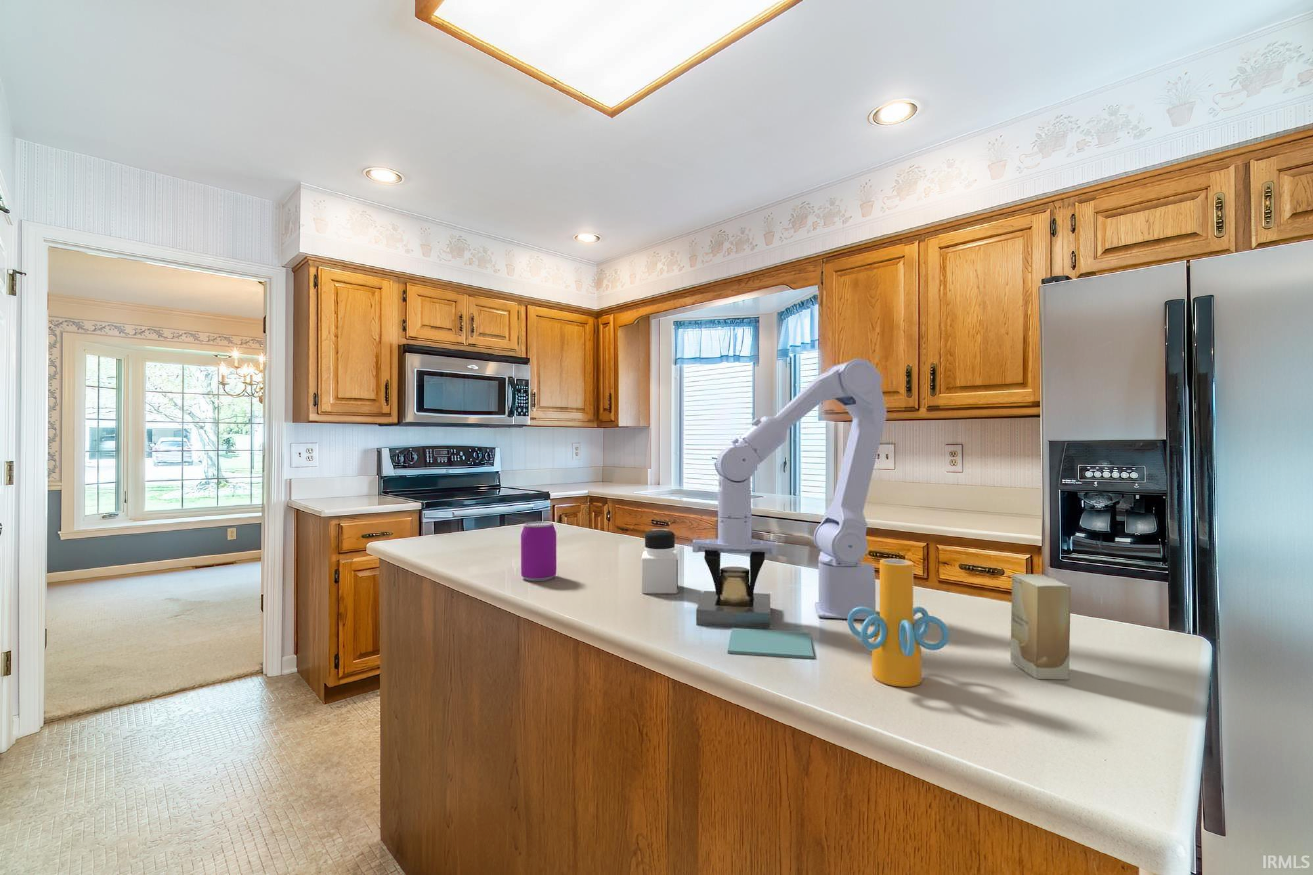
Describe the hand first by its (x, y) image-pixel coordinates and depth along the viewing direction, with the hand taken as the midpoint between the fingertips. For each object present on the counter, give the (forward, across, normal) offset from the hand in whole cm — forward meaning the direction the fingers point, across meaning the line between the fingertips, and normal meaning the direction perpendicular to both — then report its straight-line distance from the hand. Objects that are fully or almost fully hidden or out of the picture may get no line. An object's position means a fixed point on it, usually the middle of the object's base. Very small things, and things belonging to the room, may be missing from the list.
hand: (734, 594), depth 104 cm
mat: (+4, -6, +13) cm, 15 cm away
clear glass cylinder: (+4, 0, 0) cm, 4 cm away
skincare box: (+4, -41, +17) cm, 45 cm away
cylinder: (+4, -22, +23) cm, 32 cm away
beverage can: (+4, +44, -20) cm, 48 cm away
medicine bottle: (+4, +16, -15) cm, 22 cm away
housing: (+4, 0, 0) cm, 4 cm away
